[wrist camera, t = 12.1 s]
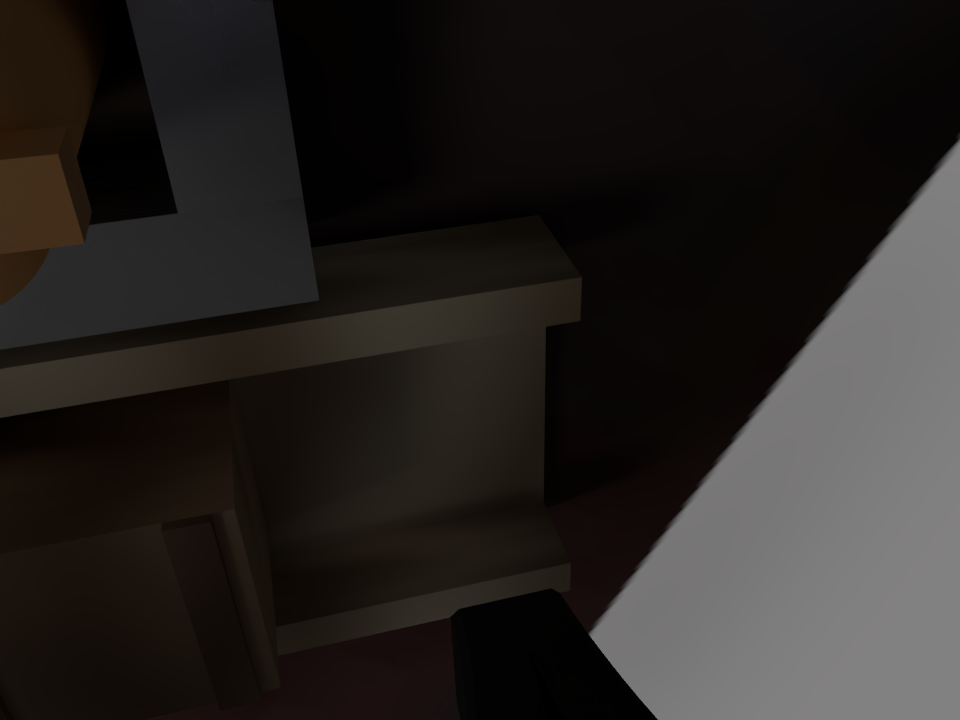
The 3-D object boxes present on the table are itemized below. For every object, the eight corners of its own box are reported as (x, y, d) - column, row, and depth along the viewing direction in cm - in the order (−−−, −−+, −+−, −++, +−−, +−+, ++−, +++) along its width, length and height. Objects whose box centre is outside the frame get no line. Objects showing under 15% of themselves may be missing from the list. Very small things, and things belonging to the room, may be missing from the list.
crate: (2, 583, 21) (-41, 770, 17) (-83, 412, 18) (-157, 593, 14) (267, 530, 22) (281, 695, 18) (228, 361, 19) (235, 517, 15)
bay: (-9, 625, 22) (-48, 792, 19) (-172, 317, 17) (-267, 468, 14) (536, 512, 25) (592, 641, 21) (538, 215, 20) (611, 320, 16)
